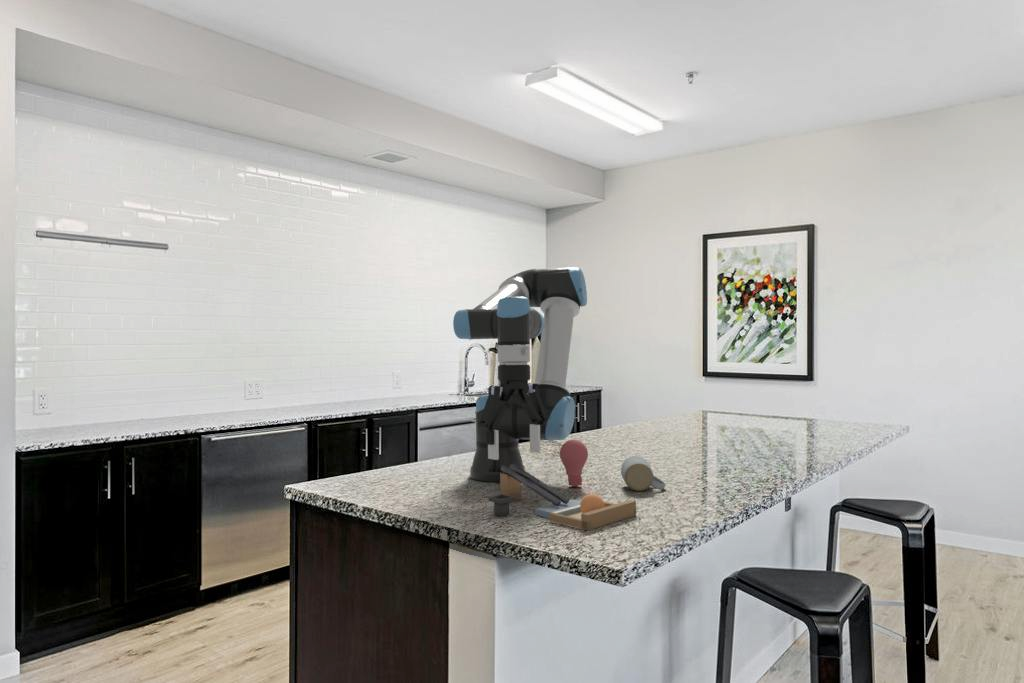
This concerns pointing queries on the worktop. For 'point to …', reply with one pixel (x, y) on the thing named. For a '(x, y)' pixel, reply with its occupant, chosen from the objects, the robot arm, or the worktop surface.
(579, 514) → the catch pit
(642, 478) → the ceramic mug
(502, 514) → the tee
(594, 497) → the ball
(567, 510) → the block
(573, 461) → the light bulb
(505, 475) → the ramp
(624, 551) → the worktop surface
